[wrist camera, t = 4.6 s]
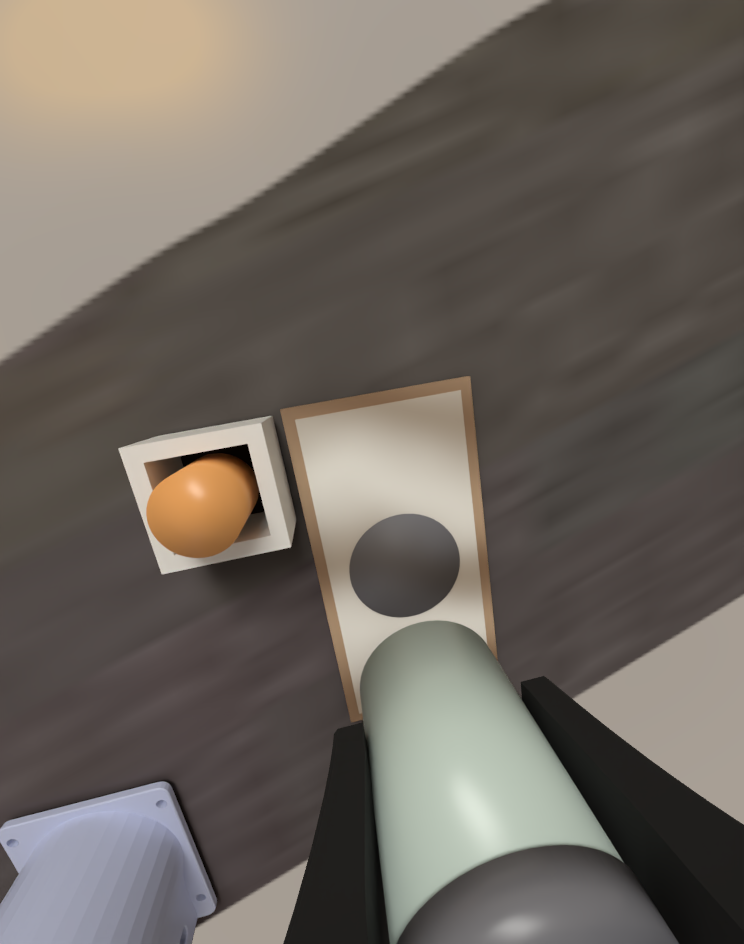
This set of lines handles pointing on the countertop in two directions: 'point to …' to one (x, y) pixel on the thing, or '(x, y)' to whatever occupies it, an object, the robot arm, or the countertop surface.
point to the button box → (163, 452)
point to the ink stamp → (483, 808)
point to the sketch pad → (393, 515)
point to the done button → (203, 505)
